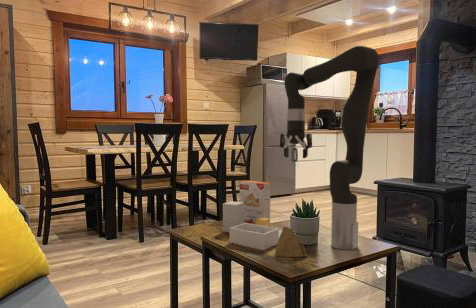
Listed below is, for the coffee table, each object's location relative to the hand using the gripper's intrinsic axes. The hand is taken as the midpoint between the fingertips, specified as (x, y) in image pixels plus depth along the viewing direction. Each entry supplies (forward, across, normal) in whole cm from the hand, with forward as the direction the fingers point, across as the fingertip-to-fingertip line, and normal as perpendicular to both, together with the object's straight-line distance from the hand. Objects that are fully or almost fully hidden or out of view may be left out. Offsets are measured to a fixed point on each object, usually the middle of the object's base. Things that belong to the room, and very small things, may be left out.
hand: (295, 157), depth 162 cm
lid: (+33, +5, +10) cm, 35 cm away
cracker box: (+33, +22, -2) cm, 40 cm away
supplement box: (+33, +24, +12) cm, 43 cm away
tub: (+33, +6, +23) cm, 41 cm away
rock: (+33, -13, +28) cm, 45 cm away
